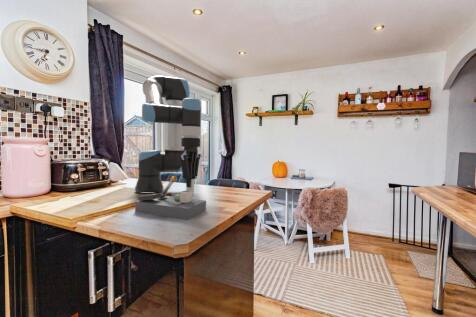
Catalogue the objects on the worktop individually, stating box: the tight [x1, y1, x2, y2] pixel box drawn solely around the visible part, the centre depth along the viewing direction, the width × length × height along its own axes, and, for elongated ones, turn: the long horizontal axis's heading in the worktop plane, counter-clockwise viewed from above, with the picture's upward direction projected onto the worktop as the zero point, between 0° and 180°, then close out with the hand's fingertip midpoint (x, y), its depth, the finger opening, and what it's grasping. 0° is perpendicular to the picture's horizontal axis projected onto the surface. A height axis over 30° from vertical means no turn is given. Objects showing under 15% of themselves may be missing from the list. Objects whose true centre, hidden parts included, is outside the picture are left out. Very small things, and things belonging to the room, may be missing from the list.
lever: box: [160, 175, 178, 198], centre depth 99 cm, size 3×3×11 cm
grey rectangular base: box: [134, 193, 207, 221], centre depth 96 cm, size 14×24×6 cm, turn 70°
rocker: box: [137, 192, 162, 201], centre depth 96 cm, size 5×7×2 cm
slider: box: [179, 190, 193, 203], centre depth 95 cm, size 4×3×4 cm
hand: (190, 194), depth 98 cm, fingers closed
